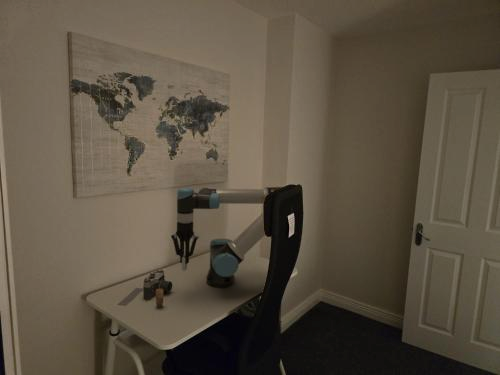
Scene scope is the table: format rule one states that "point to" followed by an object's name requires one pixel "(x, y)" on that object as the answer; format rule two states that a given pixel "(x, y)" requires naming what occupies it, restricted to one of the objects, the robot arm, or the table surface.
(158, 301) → the brown rounded cylinder
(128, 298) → the strip
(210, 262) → the robot arm
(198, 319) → the table surface
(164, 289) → the camera
